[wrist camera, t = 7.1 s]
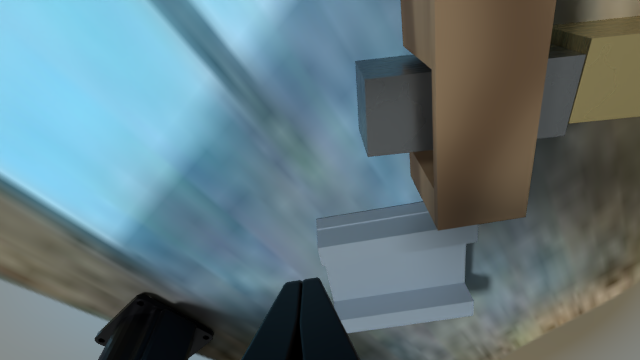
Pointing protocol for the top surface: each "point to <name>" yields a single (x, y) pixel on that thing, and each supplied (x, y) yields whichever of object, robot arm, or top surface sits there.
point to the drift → (416, 101)
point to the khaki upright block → (604, 67)
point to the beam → (479, 104)
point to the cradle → (394, 267)
